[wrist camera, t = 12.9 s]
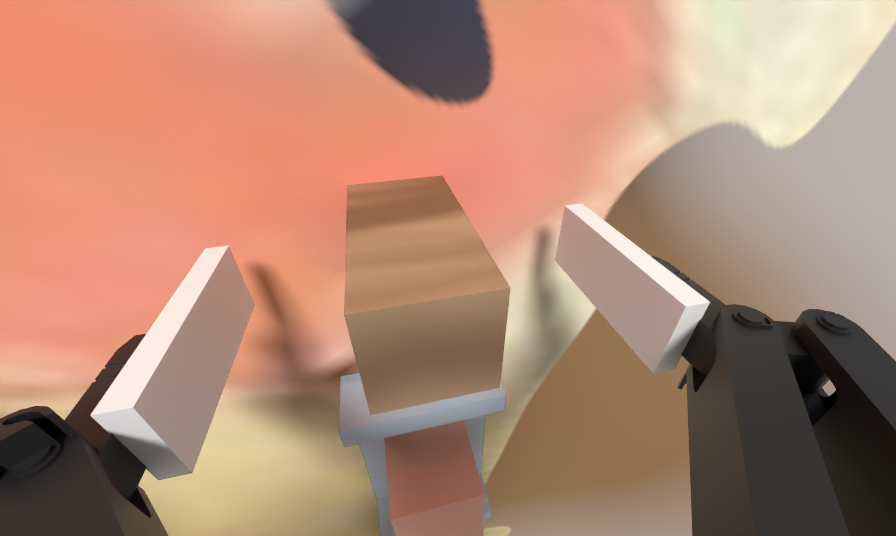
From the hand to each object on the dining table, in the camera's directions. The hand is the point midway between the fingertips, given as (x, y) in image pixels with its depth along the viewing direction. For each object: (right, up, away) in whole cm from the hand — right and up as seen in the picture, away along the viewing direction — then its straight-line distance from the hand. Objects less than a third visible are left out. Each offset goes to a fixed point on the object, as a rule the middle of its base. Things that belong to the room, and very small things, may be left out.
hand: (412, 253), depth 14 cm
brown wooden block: (-1, +1, +2) cm, 2 cm away
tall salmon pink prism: (0, -14, +12) cm, 18 cm away
